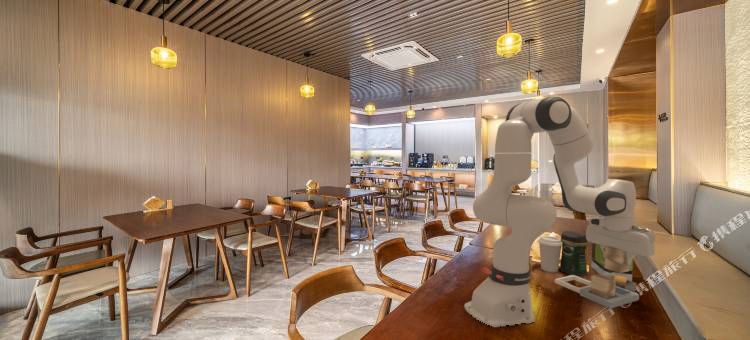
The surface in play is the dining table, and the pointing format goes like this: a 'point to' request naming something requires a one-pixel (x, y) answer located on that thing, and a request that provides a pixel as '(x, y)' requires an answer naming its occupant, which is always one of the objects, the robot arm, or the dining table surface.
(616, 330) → the dining table surface
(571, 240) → the coffee jar
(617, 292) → the grey hollow frame
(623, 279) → the button
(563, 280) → the tray
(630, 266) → the tea box
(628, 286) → the dark grey square housing
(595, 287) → the seated block
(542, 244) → the coffee cup
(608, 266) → the block
